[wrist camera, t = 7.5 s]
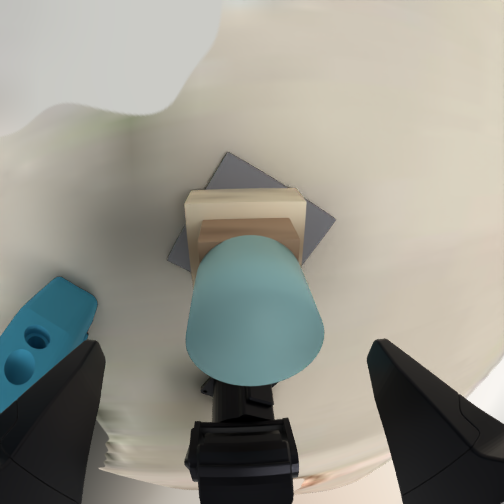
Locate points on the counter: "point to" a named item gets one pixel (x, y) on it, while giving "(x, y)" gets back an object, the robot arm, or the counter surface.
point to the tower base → (241, 211)
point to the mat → (247, 176)
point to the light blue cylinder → (252, 314)
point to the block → (42, 336)
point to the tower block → (247, 232)
